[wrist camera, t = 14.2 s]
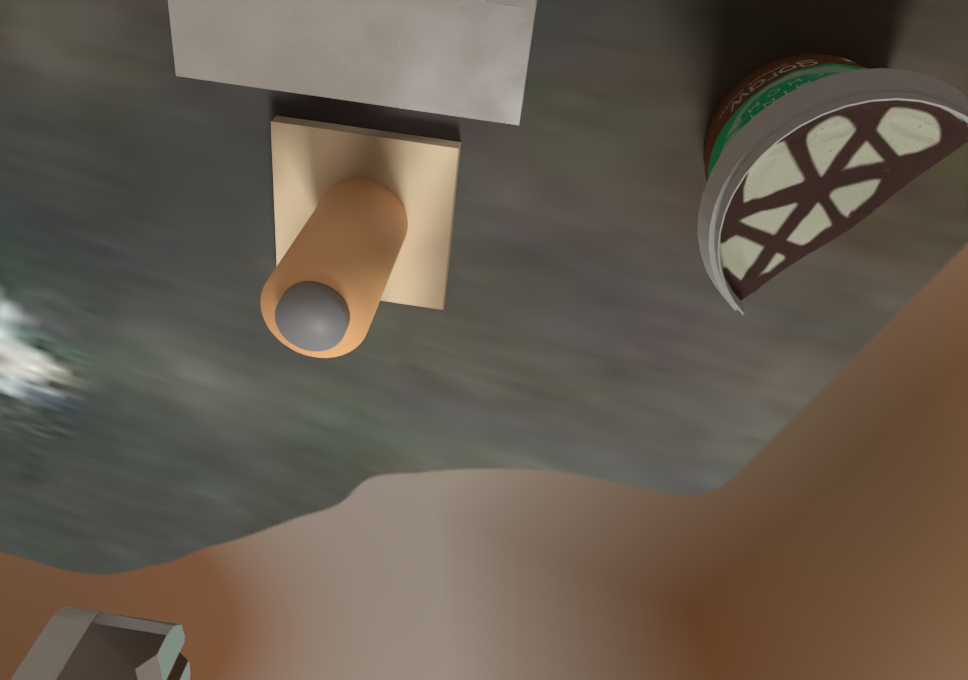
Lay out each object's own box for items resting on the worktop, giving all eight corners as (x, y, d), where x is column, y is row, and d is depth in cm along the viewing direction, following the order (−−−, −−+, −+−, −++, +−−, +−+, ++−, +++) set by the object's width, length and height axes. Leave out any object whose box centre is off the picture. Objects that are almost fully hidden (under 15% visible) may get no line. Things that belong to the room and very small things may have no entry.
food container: (839, -37, 35) (921, 7, 27) (912, 63, 37) (1009, 131, 29) (628, 148, 41) (642, 230, 32) (701, 225, 43) (732, 322, 34)
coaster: (461, 142, 41) (458, 148, 41) (445, 301, 47) (442, 309, 46) (276, 115, 42) (270, 121, 41) (282, 277, 47) (277, 285, 46)
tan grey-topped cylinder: (410, 184, 42) (367, 280, 33) (405, 265, 45) (364, 374, 36) (319, 171, 42) (251, 263, 33) (319, 253, 45) (257, 359, 36)
